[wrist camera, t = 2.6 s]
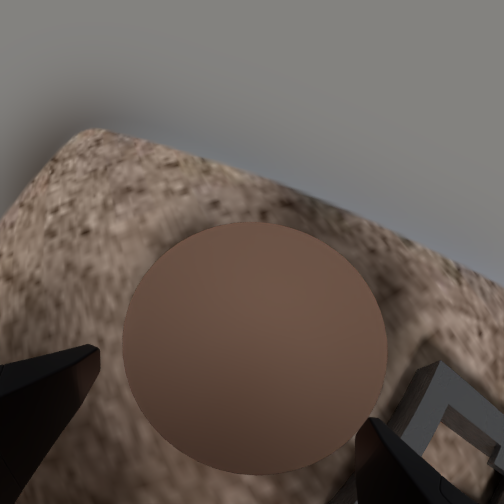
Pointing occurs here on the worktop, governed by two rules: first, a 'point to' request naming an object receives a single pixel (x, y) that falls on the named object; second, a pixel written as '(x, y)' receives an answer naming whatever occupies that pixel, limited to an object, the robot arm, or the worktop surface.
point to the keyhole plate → (443, 421)
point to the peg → (254, 348)
